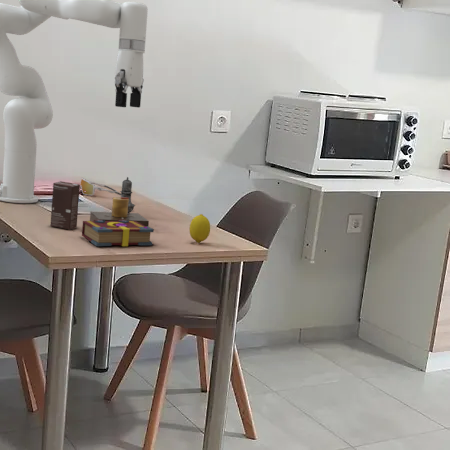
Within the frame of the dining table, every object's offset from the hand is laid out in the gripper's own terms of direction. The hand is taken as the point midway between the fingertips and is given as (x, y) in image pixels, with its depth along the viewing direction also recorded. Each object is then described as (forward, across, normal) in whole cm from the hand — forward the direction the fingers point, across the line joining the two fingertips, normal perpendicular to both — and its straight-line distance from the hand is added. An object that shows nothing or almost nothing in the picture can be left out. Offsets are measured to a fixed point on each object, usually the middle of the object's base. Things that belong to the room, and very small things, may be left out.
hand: (127, 106), depth 218 cm
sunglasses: (+33, -35, -24) cm, 54 cm away
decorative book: (+33, +30, +14) cm, 47 cm away
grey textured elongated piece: (+33, -4, -1) cm, 33 cm away
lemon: (+34, +16, +30) cm, 48 cm away
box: (+33, +25, -5) cm, 42 cm away
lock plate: (+33, +12, +5) cm, 36 cm away
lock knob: (+30, +12, +5) cm, 33 cm away
